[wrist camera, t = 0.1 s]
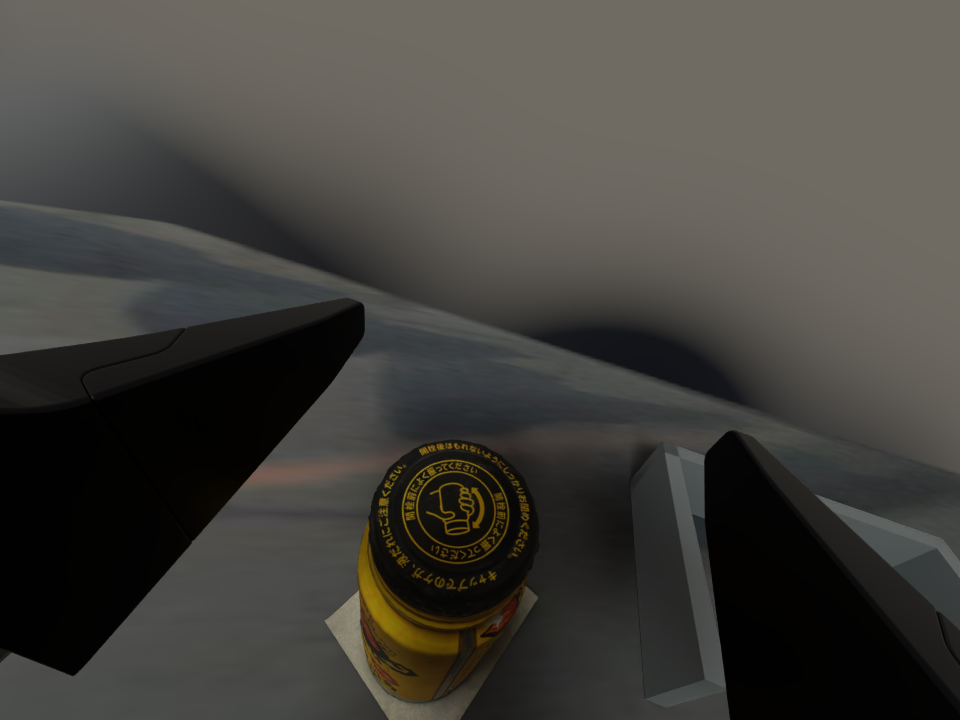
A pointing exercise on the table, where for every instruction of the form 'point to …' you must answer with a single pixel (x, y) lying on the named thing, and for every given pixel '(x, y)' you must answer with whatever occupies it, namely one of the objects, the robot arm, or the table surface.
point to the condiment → (439, 579)
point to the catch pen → (683, 587)
